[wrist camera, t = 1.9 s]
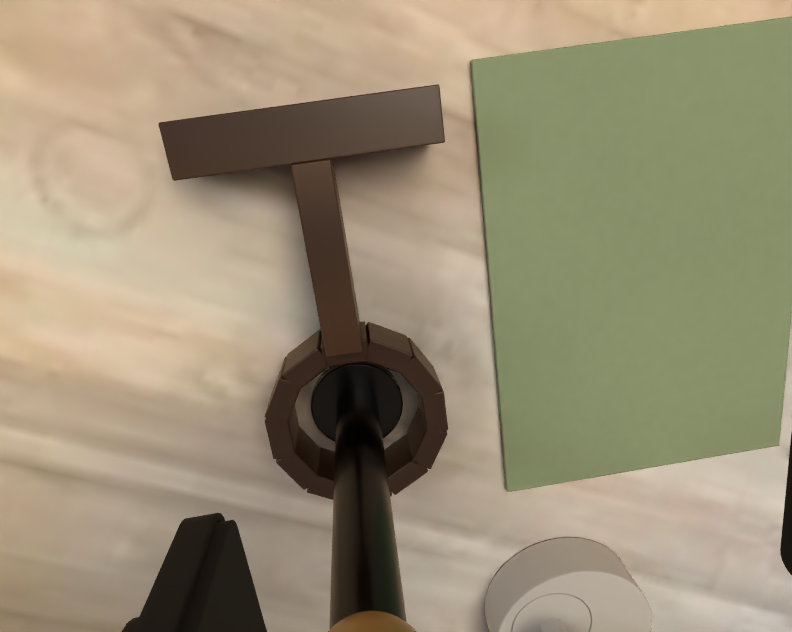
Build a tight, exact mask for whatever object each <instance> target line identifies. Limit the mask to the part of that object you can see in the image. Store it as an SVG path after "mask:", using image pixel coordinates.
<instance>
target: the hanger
mask: <svg viewBox="0 0 792 632" xmlns="http://www.w3.org/2000/svg"><path fill="white" fill-rule="evenodd" d="M159 128H160V132H161V136H162V140H163V144H164V147H165V151H166V155H167V159H168V163H169V167H170V171H171V175H172V179H173V180H174V181H176V180H183V179H190V178H197V177H204V176H211V175H218V174H225V173H232V172H239V171H246V170H253V169H261V168H268V167H275V166H282V165H289V164H292V165H291V171H292V177H293V182H294V187H295V193H296V198H297V203H298V209H299V214H300V219H301V225H302V230H303V236H304V241H305V246H306V252H307V257H308V262H309V268H310V273H311V278H312V284H313V289H314V294H315V300H316V305H317V311H318V316H319V321H320V327H321V331H320V330H319V331H317V332H316V333H315V334H313V335H312V336H311V337H310V338H308V339H307V340H306V341H304V342H303V343H302V344H301V345H299V346H298V347H297V348H295V349H294V350H293V351H292V352H290V353H289V354H288V356H287V358H286V357H285V359H284V362H283V364H282V367H281V370H280V372H279V375H278V378H277V380H276V383H275V386H274V388H273V391H272V394H271V397H270V401H269V404H268V408H267V411H266V414H265V417H266V419H265V424H266V428H267V433H268V437H269V441H270V446H271V450H272V454H273V458H274V459H276V463H277V464H278V465H279V466H280V467H281V468H282V469H283V470H284V471H285V472H286V473H287V474H288V475H289V476H290V477H291V478H292V479H293V480H294V481H295V482H296V483H297V484H298V485H299V486H301V487H302V488H303V489H304V490H305V489H306V488H307V492H308V493H311V494H315V495H318V496H322V497H325V498H329V499H332V500H334V468H335V452H333V451H329V450H326V449H323V448H320V447H319V446H318V445H317V444H316V443H315V442H314V441H313V440H312V439H311V438H310V437H309V436H308V435H307V434H306V433H305V432H304V431H303V430H302V429H301V428H300V427H299V424H298V419H297V414H296V410H295V405H294V404H295V401H296V398H297V396H298V393H299V391H300V388H302V387H303V386H304V385H306V384H307V383H308V382H309V381H311V380H312V379H313V378H315V377H316V376H317V375H319V374H320V373H321V372H322V371H324V370H325V369H326V368H328V367H331V366H337V365H343V364H349V363H356V362H362V361H368V362H371V363H374V364H377V365H380V366H382V367H385V368H388V369H391V370H394V371H397V372H400V373H401V374H402V375H403V377H404V378H405V379H406V380H407V381H408V382H409V384H410V385H411V386H412V387H413V388H414V389H415V391H416V392H417V393H418V399H419V408H418V410H417V413H416V415H415V417H414V419H413V421H412V423H411V426H410V428H409V430H408V432H407V434H406V435H405V436H403V437H402V438H401V439H399V440H398V441H396V442H395V443H394V444H392V445H391V446H390V447H388V448H387V449H386V450H384V454H385V462H386V469H387V477H388V484H389V492H390V497H391V496H392V492H393V493H394V494H395V495H396V494H397V493H399V492H400V491H402V490H403V489H404V488H406V487H407V486H409V485H410V484H411V483H413V482H414V481H416V480H417V479H418V478H420V477H421V476H422V475H424V474H425V473H427V472H428V469H431V467H432V465H433V463H434V461H435V459H436V457H437V455H438V453H439V451H440V448H441V446H442V444H443V442H444V440H445V438H446V436H447V430H448V424H447V415H446V407H445V398H444V391H443V389H442V387H441V384H440V382H439V379H438V377H437V374H436V372H435V369H434V367H433V366H432V364H431V363H430V362H429V361H428V359H427V358H426V357H425V356H424V355H423V353H422V352H421V351H420V350H419V349H418V347H417V346H416V345H415V344H414V343H413V341H412V340H411V339H410V338H408V339H407V336H406V335H403V334H400V333H397V332H395V331H392V330H389V329H386V328H383V327H381V326H378V325H375V324H372V323H370V322H368V323H367V325H365V322H360V321H359V315H358V309H357V303H356V297H355V291H354V284H353V278H352V272H351V266H350V260H349V254H348V248H347V241H346V235H345V229H344V223H343V217H342V211H341V205H340V198H339V192H338V186H337V180H336V174H335V168H334V162H333V158H338V157H345V156H352V155H359V154H366V153H374V152H381V151H388V150H395V149H402V148H409V147H416V146H423V145H430V144H437V143H444V142H445V138H444V128H443V118H442V108H441V98H440V88H439V85H431V86H424V87H416V88H409V89H402V90H394V91H387V92H380V93H372V94H365V95H358V96H350V97H343V98H336V99H328V100H321V101H314V102H306V103H299V104H292V105H284V106H277V107H270V108H262V109H255V110H248V111H240V112H233V113H226V114H218V115H211V116H204V117H196V118H189V119H182V120H175V121H167V122H160V123H159ZM427 468H428V469H427Z"/></svg>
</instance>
